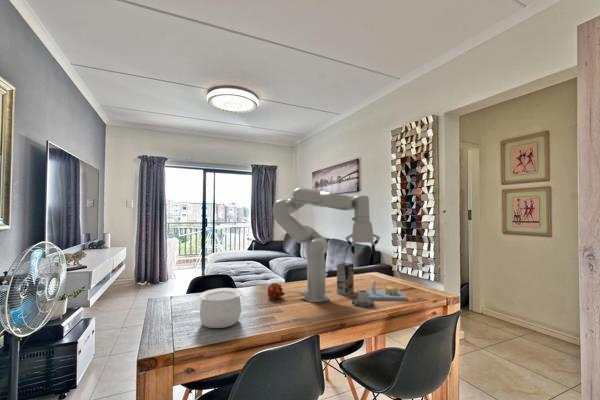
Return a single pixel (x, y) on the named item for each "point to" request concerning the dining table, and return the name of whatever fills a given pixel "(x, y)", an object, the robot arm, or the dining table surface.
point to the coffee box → (345, 278)
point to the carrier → (385, 293)
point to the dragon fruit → (275, 291)
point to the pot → (220, 307)
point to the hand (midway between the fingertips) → (363, 253)
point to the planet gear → (363, 299)
